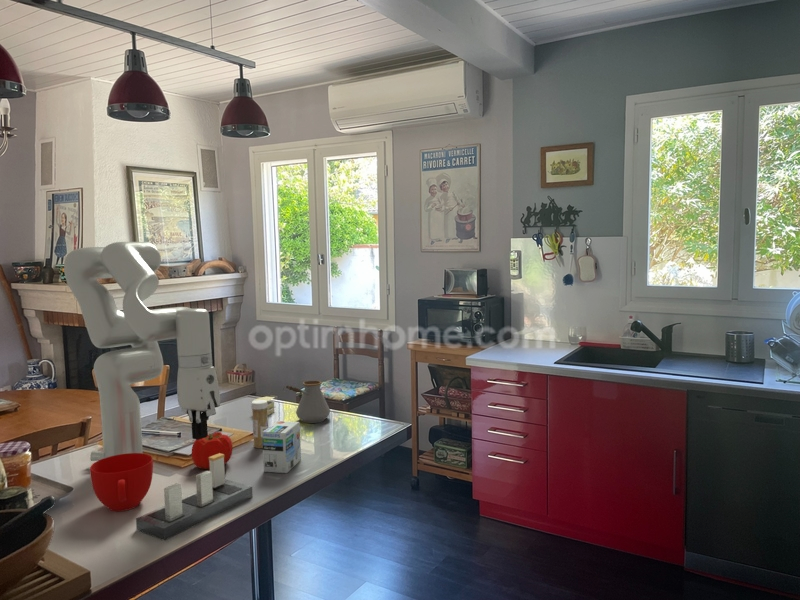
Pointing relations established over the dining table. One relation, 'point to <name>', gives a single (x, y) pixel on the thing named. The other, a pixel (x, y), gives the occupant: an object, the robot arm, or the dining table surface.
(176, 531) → the breaker panel
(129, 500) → the ceramic cup
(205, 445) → the tomato
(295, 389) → the coffee pot
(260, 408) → the sprinkles bottle
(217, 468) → the handle
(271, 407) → the stacked layers on plate
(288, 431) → the light bulb box
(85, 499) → the dining table surface
